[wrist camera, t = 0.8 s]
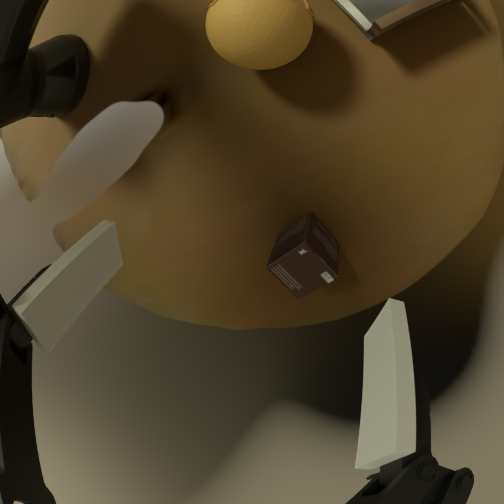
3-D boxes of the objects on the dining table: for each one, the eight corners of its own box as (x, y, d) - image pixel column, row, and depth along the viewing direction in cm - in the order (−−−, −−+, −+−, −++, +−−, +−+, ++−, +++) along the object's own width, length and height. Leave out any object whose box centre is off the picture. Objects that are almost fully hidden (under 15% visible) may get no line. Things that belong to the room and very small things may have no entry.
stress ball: (294, 78, 26) (353, 35, 17) (217, 96, 23) (265, 36, 14) (256, 16, 24) (299, -34, 14) (179, 26, 20) (208, -41, 11)
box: (276, 234, 37) (263, 267, 31) (311, 209, 34) (304, 240, 28) (305, 264, 39) (297, 300, 33) (340, 243, 35) (339, 279, 30)
